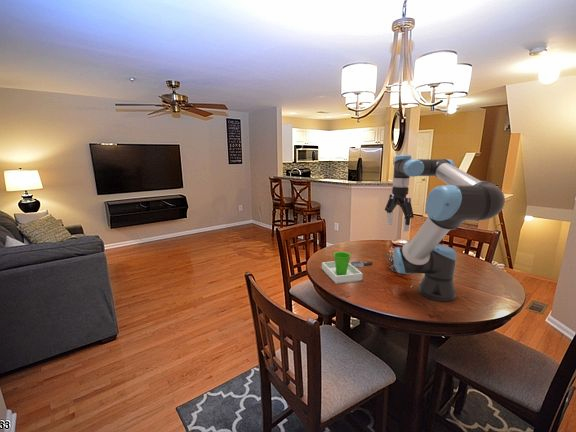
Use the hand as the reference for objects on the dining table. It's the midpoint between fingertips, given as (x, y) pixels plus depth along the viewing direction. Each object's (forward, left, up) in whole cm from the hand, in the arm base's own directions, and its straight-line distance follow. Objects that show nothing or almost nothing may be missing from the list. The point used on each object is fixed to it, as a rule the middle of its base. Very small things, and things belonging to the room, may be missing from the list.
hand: (397, 227), depth 146 cm
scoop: (+18, +8, -27) cm, 33 cm away
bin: (+9, +26, -27) cm, 38 cm away
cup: (+9, +26, -26) cm, 38 cm away
